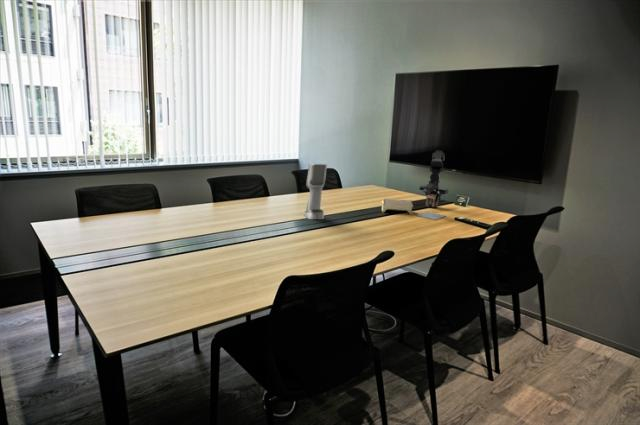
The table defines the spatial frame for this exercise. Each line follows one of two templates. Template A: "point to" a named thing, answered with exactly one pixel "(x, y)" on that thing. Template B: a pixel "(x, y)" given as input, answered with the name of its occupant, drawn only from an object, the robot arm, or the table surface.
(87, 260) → the table surface
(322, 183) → the thermal camera
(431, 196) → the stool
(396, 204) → the toy sofa
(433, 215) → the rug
